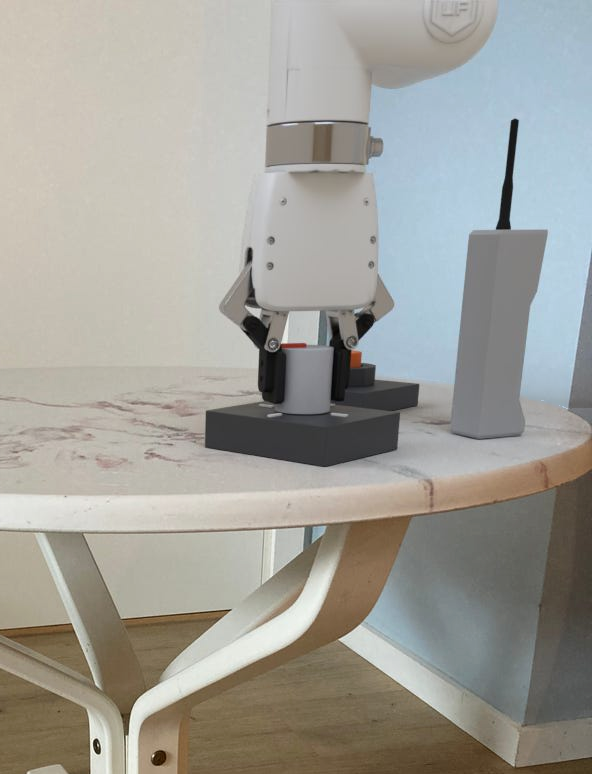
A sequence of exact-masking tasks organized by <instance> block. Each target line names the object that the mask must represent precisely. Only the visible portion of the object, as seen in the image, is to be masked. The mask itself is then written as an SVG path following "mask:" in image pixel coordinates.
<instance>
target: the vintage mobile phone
mask: <svg viewBox="0 0 592 774" xmlns="http://www.w3.org/2000/svg"><path fill="white" fill-rule="evenodd" d="M519 124H520V119H517V118H515V117H514V118H513V119H511V120H510V125H509V134H508V135H509V136H508V145H507V146H508V147H507V152H506V153H507V155H506V163H505V174H504V180H503V183H502V187H501V195H500V196H501V197H500V203H499V204H500V205H499V213H498V215H499V216H498V221H497V223H496V227H495V229H473V230H472V231H471V232H470V233H469V234H468V241H467V252H466V262H465V272H464V280H463V281H464V282H463V290H462V291H463V292H462V302H461V304H462V305H461V313H460V321H459V322H460V323H459V333H458V343H457V351H456V352H457V354H456V364H455V372H454V373H455V374H454V383H453V384H454V385H453V393H452V405H451V414H450V423H449V430H450V431H451V433H453V434H455V435H460V436H463V437H467V438H468V437H469V438H472V439H478V440H483V439H484V440H485V439H494V438H495V439H496V438H506V437H507V438H508V437H516V436H521V435H522V434H523V433H524V432H525V428H526V427H525V426H526V419H525V415H524V412H523V407H522V405H521V401H520V397H521V390H522V389H521V388H522V379H523V372H524V371H523V370H524V363H525V354H526V345H527V336H528V330H529V329H528V328H529V321H530V319H529V318H530V312H531V305H532V303H533V301H534V299H535V297H536V294H537V292H538V289H539V285H540V278H541V273H542V268H543V261H544V257H545V252H546V246H547V240H548V235H549V234H548V233H549V230H548V229H512V225H511V210H512V202H513V201H512V200H513V191H514V169H515V160H516V151H517V142H518V132H519Z"/></svg>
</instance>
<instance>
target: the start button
mask: <svg viewBox="0 0 592 774" xmlns="http://www.w3.org/2000/svg"><path fill="white" fill-rule="evenodd" d="M362 357H363V352H362V351H360V350H355V349H353V350H351V364H350V367H361V363H362Z"/></svg>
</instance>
